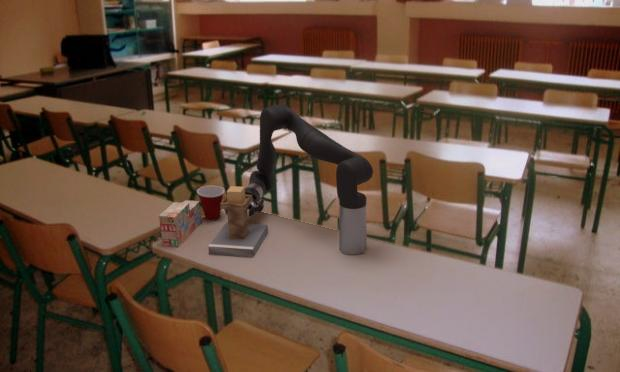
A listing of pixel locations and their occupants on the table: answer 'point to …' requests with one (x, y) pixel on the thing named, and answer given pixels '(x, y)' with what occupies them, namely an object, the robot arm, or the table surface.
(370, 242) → the table surface
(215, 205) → the plastic cup
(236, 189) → the carton
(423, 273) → the table surface
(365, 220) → the robot arm
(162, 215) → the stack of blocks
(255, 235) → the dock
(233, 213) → the stand
